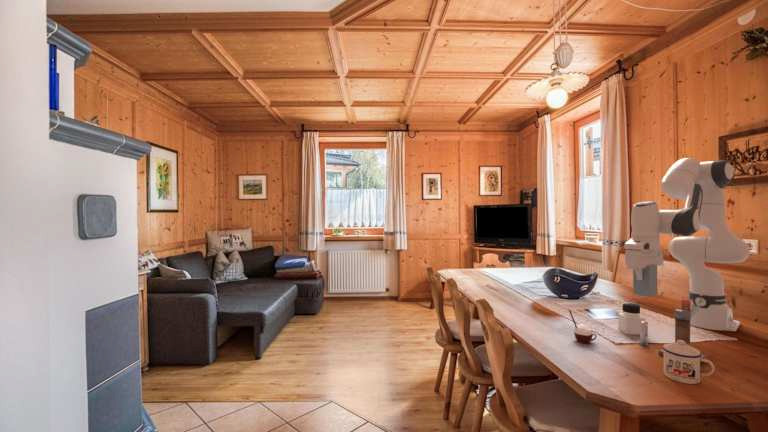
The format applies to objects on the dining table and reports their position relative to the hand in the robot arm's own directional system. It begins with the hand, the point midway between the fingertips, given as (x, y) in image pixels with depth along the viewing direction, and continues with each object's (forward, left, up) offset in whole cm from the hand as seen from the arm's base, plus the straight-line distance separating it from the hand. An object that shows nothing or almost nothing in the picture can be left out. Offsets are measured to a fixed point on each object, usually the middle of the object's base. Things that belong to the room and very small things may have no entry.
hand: (645, 278), depth 133 cm
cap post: (+3, +1, -25) cm, 25 cm away
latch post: (+3, +13, -25) cm, 28 cm away
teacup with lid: (+20, +21, -25) cm, 38 cm away
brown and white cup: (+19, -13, -25) cm, 34 cm away
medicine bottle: (-8, -9, -25) cm, 28 cm away
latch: (-4, +12, -12) cm, 17 cm away
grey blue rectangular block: (0, 0, -6) cm, 6 cm away
